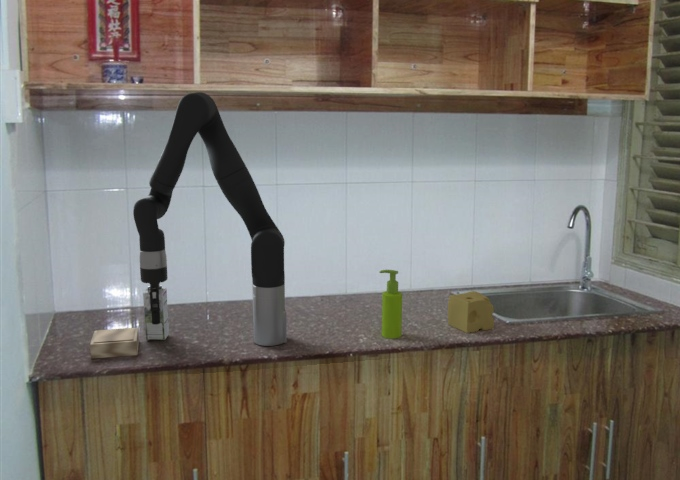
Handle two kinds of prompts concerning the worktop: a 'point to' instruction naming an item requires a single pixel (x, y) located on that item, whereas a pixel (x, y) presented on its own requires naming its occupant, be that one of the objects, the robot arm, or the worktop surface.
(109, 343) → the plinth
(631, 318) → the worktop surface
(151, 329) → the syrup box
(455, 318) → the cheese
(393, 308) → the soap dispenser
